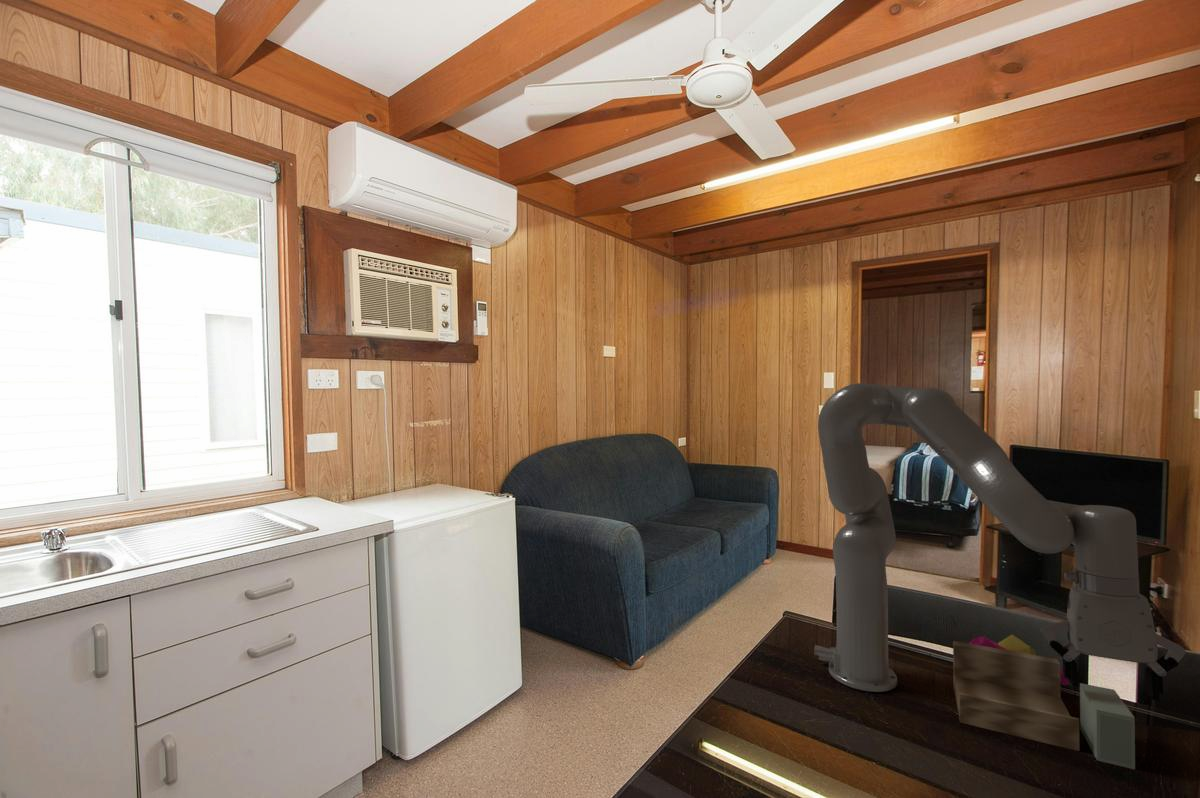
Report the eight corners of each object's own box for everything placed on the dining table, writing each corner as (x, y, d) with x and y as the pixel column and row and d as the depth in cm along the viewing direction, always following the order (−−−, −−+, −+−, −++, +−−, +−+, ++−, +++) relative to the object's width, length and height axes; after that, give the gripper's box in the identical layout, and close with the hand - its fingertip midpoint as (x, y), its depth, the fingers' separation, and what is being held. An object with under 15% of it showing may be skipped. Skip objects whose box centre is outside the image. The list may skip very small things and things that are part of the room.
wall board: (960, 722, 94) (959, 671, 94) (953, 686, 106) (953, 640, 106) (1079, 751, 86) (1078, 695, 86) (1057, 708, 98) (1057, 659, 98)
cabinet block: (1097, 760, 84) (1096, 709, 84) (1080, 729, 92) (1079, 683, 92) (1135, 770, 82) (1134, 717, 82) (1114, 737, 90) (1114, 689, 90)
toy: (1084, 710, 99) (1083, 651, 103) (983, 676, 101) (985, 620, 105) (1043, 703, 108) (1043, 649, 112) (951, 672, 111) (954, 620, 114)
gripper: (1043, 583, 88) (1048, 688, 88) (1192, 598, 80) (1198, 715, 79) (1033, 570, 95) (1038, 668, 94) (1170, 583, 86) (1175, 691, 86)
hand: (1111, 689), depth 87 cm, fingers open, 9 cm apart
